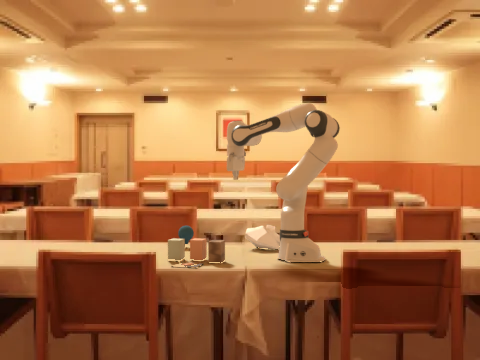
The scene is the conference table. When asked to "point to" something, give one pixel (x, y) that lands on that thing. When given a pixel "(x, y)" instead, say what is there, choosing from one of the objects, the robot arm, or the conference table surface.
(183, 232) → the light bulb
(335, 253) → the conference table surface
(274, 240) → the paper
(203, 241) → the terracotta block
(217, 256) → the walnut block
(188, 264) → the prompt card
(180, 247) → the sage block
